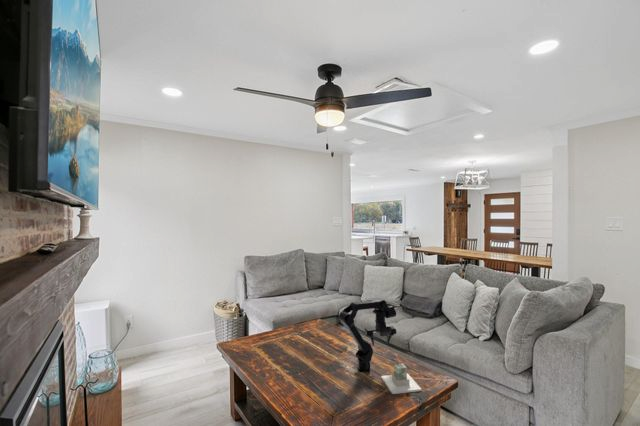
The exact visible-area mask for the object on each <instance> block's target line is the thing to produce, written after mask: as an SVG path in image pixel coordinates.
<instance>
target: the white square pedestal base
mask: <svg viewBox="0 0 640 426" xmlns="http://www.w3.org/2000/svg"><path fill="white" fill-rule="evenodd" d="M381 379H382V381H383V383H384V384H385V385H386V386H387V388H388V390H389V391H390V394H392V395H397V394H405V393H407V394H408V393H416V392H421V391H422V388H421V387H420V385H418V383H417V382H416V381H415V380H414V378H413V377H412V376H411V375H410V374H409V373H408V372H407V379H400V380H398V379H397V378H396V376H395V375H394V373H392V374H390V375H389V374H388V375H381Z"/></svg>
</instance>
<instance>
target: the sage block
mask: <svg viewBox="0 0 640 426" xmlns="http://www.w3.org/2000/svg"><path fill="white" fill-rule="evenodd" d="M393 368H394V369H393V371H394V372H393V374H394V375H395V376H396V378H397V379H398V380H400V379H407V373H408V369H407V366H406V365H405V364H404V363H403V362H401V363H394V364H393Z"/></svg>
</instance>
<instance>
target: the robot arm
mask: <svg viewBox="0 0 640 426" xmlns="http://www.w3.org/2000/svg"><path fill="white" fill-rule="evenodd" d="M371 309H373V310H372V313H373V314H375V319H374V323H375V326H374V329H373V328H372V327H365V328H364V332H363V333H364V334H365V335H366V336H368V337H369V339H370V341H371V343H370V342H368V341H366V340H365V339H364V338H363V336H362V335H361V333H360V332H359V330H358V328H357V327H356V325H355V320H354V319H355V318H356V316H357V313H358V312H359V311H362V310H371ZM395 317H397V311H396V309H395V306H393V305H390V306H388V305H387V301H386V300H385V299H382V298H380V297H376V298H373V299H372V300H368V301H357V302H356V301H353V302H351V303H349V305H348V306H347V307H345V308H344V309H342V311H341V312H340V313H339V316H338V320H339V322H341V323H342V324H343V325H344V326H345V327H346V328H347V329H348V331H349V333H350V335H351V337H353V339H354V340H355V343H356V344H357V351H356V352H355V357H356V358H357V366H356V368H357V370H358V372H359V373H368V372H371V361H372V358H373V354H374V348H373V347H372V346H375V341H374V334H376V333H377V334H379V335H380V336H381V337H386V345H389V343H390V340H391V338H392V337H393V336H394V335H396V334H397V329H396V328H395V327H394V326H391V325H390V326H387V322H386V319H391V318H395Z"/></svg>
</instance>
